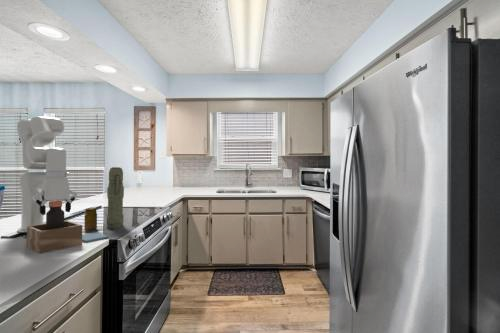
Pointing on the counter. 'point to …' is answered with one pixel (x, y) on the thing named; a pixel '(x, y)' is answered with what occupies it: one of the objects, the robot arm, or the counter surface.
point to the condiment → (91, 220)
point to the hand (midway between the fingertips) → (55, 213)
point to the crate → (53, 237)
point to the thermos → (115, 198)
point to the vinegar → (55, 216)
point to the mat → (93, 237)
